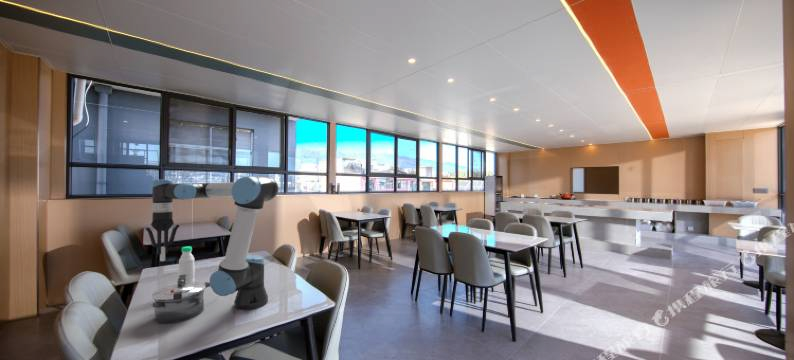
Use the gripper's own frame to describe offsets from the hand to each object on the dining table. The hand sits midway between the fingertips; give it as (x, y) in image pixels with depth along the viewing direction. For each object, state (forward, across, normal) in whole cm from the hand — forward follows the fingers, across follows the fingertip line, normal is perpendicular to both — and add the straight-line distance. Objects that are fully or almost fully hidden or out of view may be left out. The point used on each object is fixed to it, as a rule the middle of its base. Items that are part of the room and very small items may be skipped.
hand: (162, 260), depth 139 cm
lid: (+13, +5, -11) cm, 18 cm away
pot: (+23, +6, -12) cm, 27 cm away
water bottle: (+24, +14, +17) cm, 32 cm away
